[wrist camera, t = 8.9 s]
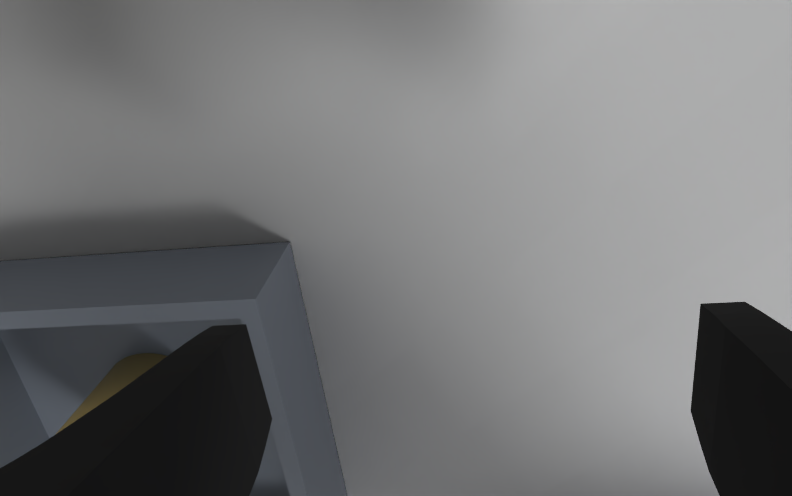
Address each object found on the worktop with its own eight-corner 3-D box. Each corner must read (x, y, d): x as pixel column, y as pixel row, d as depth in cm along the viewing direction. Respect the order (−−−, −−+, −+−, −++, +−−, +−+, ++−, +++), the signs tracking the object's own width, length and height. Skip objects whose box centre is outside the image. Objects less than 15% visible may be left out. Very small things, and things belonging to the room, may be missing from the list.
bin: (289, 241, 21) (255, 299, 17) (350, 507, 26) (331, 588, 23) (-38, 263, 22) (-120, 318, 19) (80, 506, 28) (30, 580, 25)
